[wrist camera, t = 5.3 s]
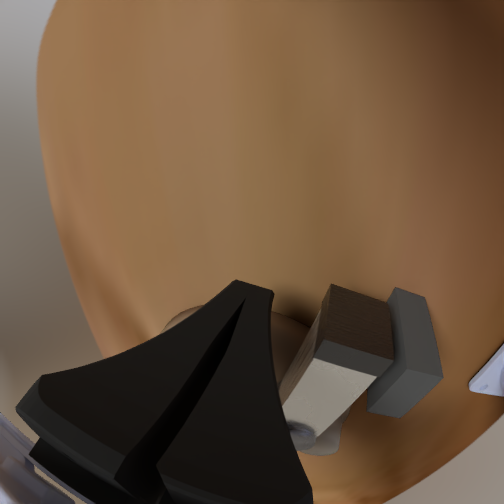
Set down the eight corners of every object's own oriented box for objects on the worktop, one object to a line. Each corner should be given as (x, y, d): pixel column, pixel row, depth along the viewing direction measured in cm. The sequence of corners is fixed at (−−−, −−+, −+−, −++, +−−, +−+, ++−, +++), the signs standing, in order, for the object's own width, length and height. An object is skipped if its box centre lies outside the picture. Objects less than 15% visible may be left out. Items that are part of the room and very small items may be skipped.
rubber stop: (424, 297, 10) (443, 377, 7) (395, 340, 12) (400, 418, 8) (395, 287, 10) (407, 369, 7) (368, 331, 12) (366, 411, 8)
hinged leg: (313, 407, 13) (303, 454, 11) (270, 394, 13) (255, 441, 11) (389, 304, 9) (396, 365, 7) (329, 283, 9) (321, 342, 7)
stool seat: (392, 349, 12) (395, 404, 9) (309, 442, 18) (300, 478, 15) (161, 270, 13) (124, 310, 11) (162, 390, 19) (143, 422, 17)
